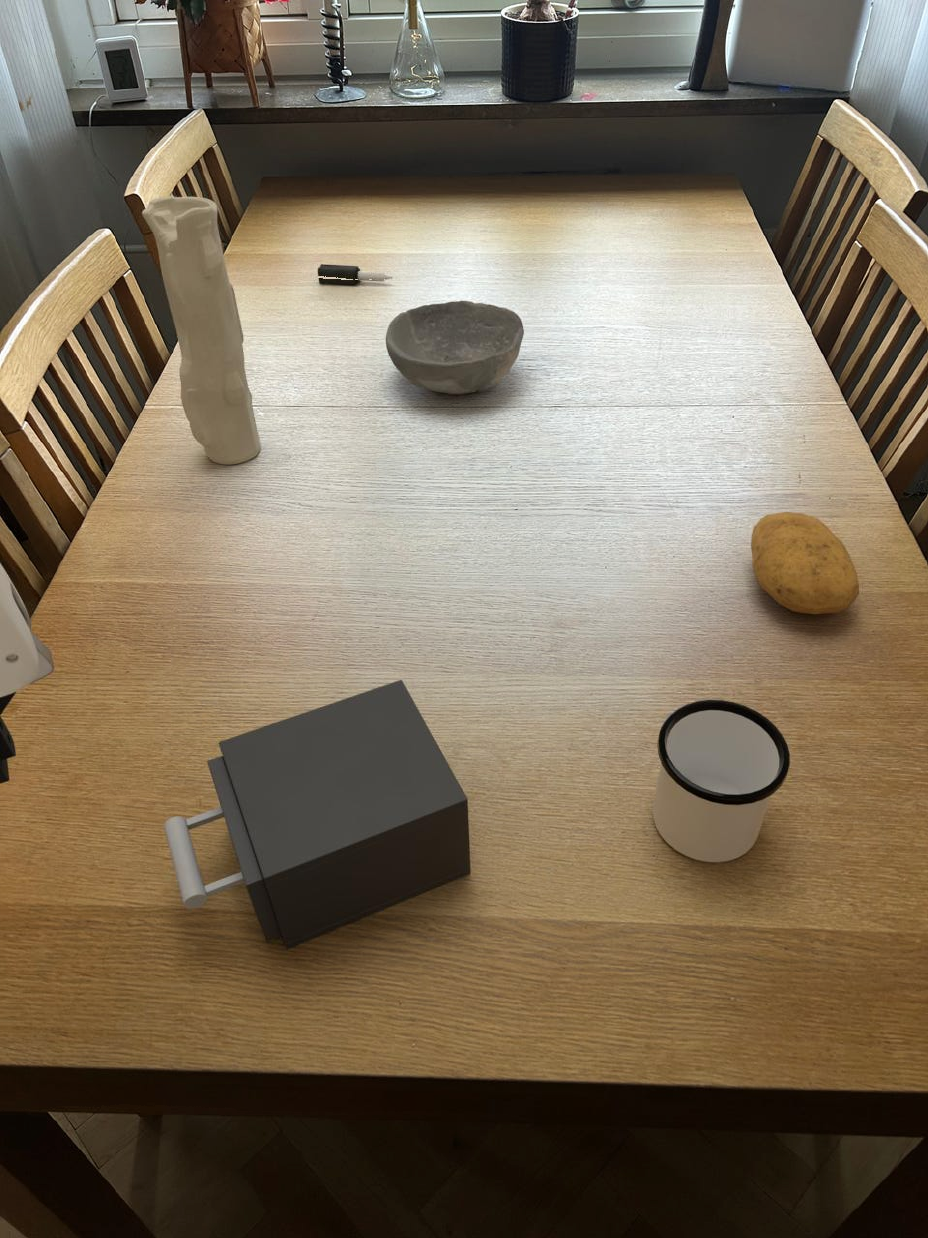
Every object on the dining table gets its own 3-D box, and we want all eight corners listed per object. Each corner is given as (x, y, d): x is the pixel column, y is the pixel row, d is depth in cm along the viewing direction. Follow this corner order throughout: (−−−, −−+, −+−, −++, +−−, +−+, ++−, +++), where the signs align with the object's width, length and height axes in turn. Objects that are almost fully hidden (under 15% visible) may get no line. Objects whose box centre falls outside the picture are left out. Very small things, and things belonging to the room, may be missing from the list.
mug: (770, 878, 70) (797, 807, 64) (643, 862, 71) (657, 792, 65) (759, 753, 79) (781, 680, 72) (646, 741, 80) (658, 668, 74)
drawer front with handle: (206, 968, 65) (180, 911, 60) (173, 841, 73) (148, 781, 67) (439, 872, 70) (434, 812, 65) (386, 763, 78) (377, 701, 72)
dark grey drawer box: (286, 950, 67) (263, 879, 60) (242, 816, 75) (218, 741, 69) (471, 873, 71) (468, 799, 64) (409, 755, 79) (401, 679, 73)
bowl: (362, 387, 125) (355, 331, 119) (448, 338, 134) (446, 284, 129) (463, 432, 116) (461, 374, 111) (548, 376, 126) (550, 320, 120)
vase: (272, 463, 112) (221, 207, 92) (202, 478, 110) (133, 221, 90) (259, 427, 118) (208, 180, 98) (192, 441, 116) (125, 192, 96)
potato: (763, 635, 89) (778, 581, 84) (731, 551, 98) (743, 497, 93) (859, 631, 89) (880, 576, 84) (818, 547, 98) (834, 493, 93)
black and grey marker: (319, 284, 149) (391, 288, 147) (317, 269, 148) (390, 273, 146) (323, 277, 151) (395, 281, 149) (321, 262, 149) (393, 266, 148)
